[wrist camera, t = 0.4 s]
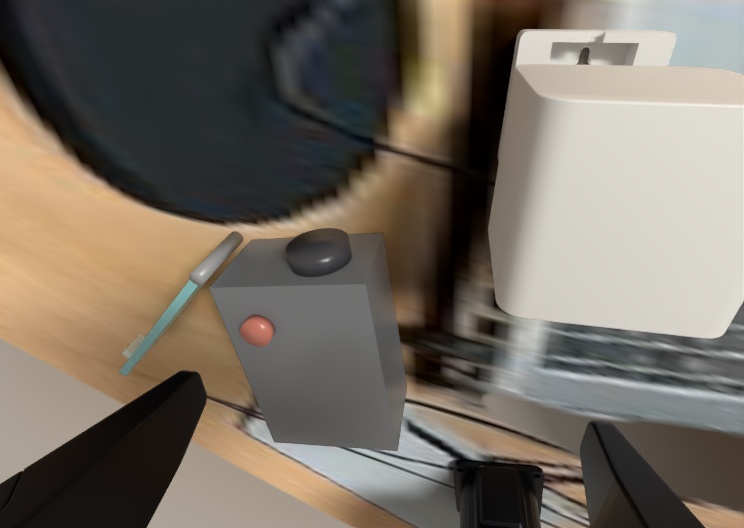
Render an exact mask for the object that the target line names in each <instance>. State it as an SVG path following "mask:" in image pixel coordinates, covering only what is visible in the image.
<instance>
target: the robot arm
mask: <svg viewBox="0 0 744 528" xmlns="http://www.w3.org/2000/svg"><path fill="white" fill-rule="evenodd" d="M206 400H207V394H206V391H205V388H204V385H203V382H202V379H201V376H200V374H199V373H198V372H195V371H187V370H182V371H180V372H178V373H176V374H174V375H173V376H171V377H170V378H168V379H167V380H165V381H163V382H162V383H160V384H159V385H157V386H155V387H154V388H152V389H151V390H149V391H147V392H146V393H144V394H143V395H141V396H139V397H138V398H136V399H135V400H133V401H132V402H130V403H128V404H127V405H125V406H124V407H122V408H120V409H119V410H117V411H116V412H114V413H112V414H111V415H110V416H108V417H106V418H105V419H103V420H101V421H100V422H98V423H97V424H95V425H93V426H92V427H90V428H89V429H87V430H86V431H84V432H82V433H81V434H79V435H78V436H76V437H74V438H73V439H71V440H70V441H68V442H66V443H65V444H63V445H62V446H60V447H59V448H57V449H55V450H54V451H52V452H50V453H49V454H47V455H46V456H44V457H43V458H41V459H39V460H38V461H36V462H35V463H33V464H31V465H30V466H28V467H27V468H25V470H24V471H21V472H19V473H17V474H15V475H14V476H12V477H11V478H9V479H7V480H6V481H5V482H3V483H1V484H0V528H147V526H148V524H149V522H150V520H151V518H152V516H153V515H154V513H155V511H156V509H157V507H158V505H159V503H160V501H161V500H162V498H163V496H164V494H165V492H166V490H167V488H168V487H169V485H170V483H171V481H172V479H173V477H174V475H175V473H176V471H177V469H178V467H179V465H180V464H181V461H182V459H183V457H184V455H185V453H186V450H187V448H188V445H189V443H190V441H191V438H192V436H193V433H194V431H195V429H196V426H197V424H198V421H199V419H200V416H201V414H202V412H203V409H204V407H205V404H206ZM580 457H581V465H582V472H583V479H584V486H585V494H586V501H587V508H588V515H589V522H590V528H705V527H704V526H703V525H702V523H701V522H700V521H699V520H698V519H697V518H696V517H695V516H694V514H693V513H692V512H691V511H690V510H689V509H688V508H687V507H686V505H685V504H684V503H683V502H682V501H681V500H680V499H679V498H678V496H677V495H676V494H675V493H674V492H673V491H672V490H671V489H670V487H669V486H668V485H667V484H666V483H665V482H664V481H663V480H662V478H661V477H660V476H659V475H658V474H657V473H656V472H655V471H654V469H653V468H652V467H651V466H650V465H649V464H648V463H647V462H646V460H645V459H644V458H643V457H642V456H641V455H640V454H639V453H638V452H637V450H636V449H635V448H634V447H633V446H632V445H631V444H630V443H629V441H628V440H627V439H626V438H625V437H624V436H623V435H622V433H621V432H620V431H619V430H618V429H617V428H616V427H615V426H614V425H613V424H612V423H609V422H603V421H595V420H591V421H590V422H589V423H588V425H587V428H586V431H585V434H584V436H583V439H582V442H581V446H580ZM453 470H454V482H455V493H456V505H457V511H459V512H460V528H541V524H540V514H541V503H542V493H543V482H544V474H543V470H542V469H541V468H539V467H532V466H518V465H505V464H492V463H478V462H465V461H457V462H455V463H454V465H453Z"/></svg>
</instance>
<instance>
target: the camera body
mask: <svg viewBox="0 0 744 528" xmlns="http://www.w3.org/2000/svg"><path fill="white" fill-rule="evenodd" d="M209 289H210V291H211V294H212V296H213V298H214V301H215V303H216V305H217V308H218V310H219V313H220V315H221V317H222V320H223V322H224V324H225V327H226V329H227V332H228V334H229V336H230V339H231V341H232V343H233V346H234V348H235V350H236V353H237V355H238V358H239V360H240V362H241V365H242V367H243V369H244V372H245V374H246V376H247V379H248V381H249V384H250V386H251V388H252V391H253V393H254V395H255V398H256V400H257V403H258V405H259V407H260V410H261V412H262V414H263V417H264V419H265V421H266V424H267V426H268V429H269V431H270V433H271V436H272V438H273V440H274V442H279V443H293V444H307V445H321V446H335V447H349V448H363V449H377V450H391V451H398V445H399V438H400V431H401V424H402V417H403V410H404V404H405V397H406V390H407V383H406V377H405V370H404V364H403V357H402V351H401V344H400V338H399V332H398V325H397V319H396V312H395V306H394V299H393V293H392V286H391V280H390V273H389V267H388V261H387V254H386V248H385V241H384V235H383V233H371V234H352V235H348V234H347V233H346V232H344V231H342V230H339V229H333V228H325V229H317V230H313V231H309V232H306V233H303V234H301V235H299V236H297V237H295V238H277V239H258V240H251V241H250V242H249V243H248V245H247V246H246V247H245V248H244V249H243V250H242V251H241V252H240V254H239V255H238V256H237V257H236V258H235V259H234V260H233V261H232V263H231V264H230V265H229V266H228V267H227V268H226V269H225V270H224V272H223V273H222V274H221V275H220V276H219V277H218V278H217V279H216V281H215V282H214V283H213V284H212V285H211V286H210V287H209Z"/></svg>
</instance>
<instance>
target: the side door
mask: <svg viewBox="0 0 744 528" xmlns="http://www.w3.org/2000/svg"><path fill="white" fill-rule="evenodd" d="M242 241H243V237H242V235H241V234H240V233H238V232H232V233H231V234H230V235H229V236H228V237H227V238H226V239H225V240H224V241H223V242H222V243H221V244H220V245H219V246H218V247H217V248H216V249H215V250H214V251H213V252H212V253H211V254H210V255H209V256H208V257H207V258H206V259H205V260H204V261H203V262H202V263H201V264H200V265H199V266H198V267H197V268H196V269H195V270H194V271H193V272H192V273H191V274H190V280H189V282H188V283H187V284H186V285H185V287H184V288H183V289H182V291H181V292H180V293H179V295H178V296H177V297H176V298H175V300H174V301H173V302H172V304H171V305H170V306H169V308H168V309H167V310H166V311H165V313H164V314H163V315H162V317H161V318H160V319H159V320H158V322H157V323H156V324H155V326H154V327H153V328H152V330H151V331H150V332H149V333H148V335H147V336H146V337H145V336H144V335H142V334H141V333H140V334H139V336H138V337H137V338H136V339H135V340H134V341H133V342H132V343H131V344H130V345H129V346H128V347H127V348H126V349H125V350H124V351H123V353H122V355H124V356H125V357H127V358H128V361H127V362H126V363H125V365H124V366H123V367H122V368H121V370H120V371H119V373H121V374H122V375H124V376H126V375H127V374H128V373H129V372H130V371H131V370H132V369H133V368H134V367H135V365H136V364H137V363H138V362H139V361H140V360H141V359H142V358H143V357H144V356H145V354H146V353H147V352H148V351H149V350H150V349H151V348H152V347H153V346H154V344H155V343H156V342H157V341H158V340H159V339H160V338H161V337H162V336H163V334H164V333H165V332H166V331H167V330H168V328H169V327H170V326H171V325H172V323H173V322H174V321H175V320H176V319H177V317H178V316H179V315H180V314H181V312H182V311H183V310H184V309H185V307H186V306H187V305H188V304H189V302H190V301H191V300H192V299H193V298H194V296H195V295H196V294H197V293H198V291H199V290H200V289H201V288H202V286H203V285H204V284H205V283H206V281H207V280H208V279H209V278H210V277H211V275H212V274H213V273H214V272H215V271H216V270H217V269H218V268H219V266H220V265H221V264H222V263H223V262H224V261H225V260H226V259H227V258H228V257H229V256H230V254H231V253H232V252H233V251H234V250H235V249H236V248H237V247H238V246H239V245H240V244H241V243H242Z"/></svg>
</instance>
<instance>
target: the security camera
mask: <svg viewBox="0 0 744 528" xmlns="http://www.w3.org/2000/svg"><path fill="white" fill-rule="evenodd" d="M676 39H677V38H676V35H675V34H674V33H673V32H666V31H660V30H565V29H524V30H521V31H520V32H519V33H518V35H517V38H516V44H515V50H514V56H513V63H512V69H511V75H510V81H509V88H508V94H507V100H506V106H505V113H504V119H503V125H502V131H501V138H500V144H499V150H498V161H499V164H498V171H497V177H496V183H495V189H494V195H493V201H492V207H491V214H490V220H489V226H488V235H489V244H490V253H491V262H492V271H493V280H494V289H495V298H496V302H497V304H498V306H499V307H500V308H501V309H502V310H504V311H505V312H507V313H508V314H510V315H513V316H515V317H520V318H524V319H533V320H542V321H551V322H561V323H570V324H579V325H588V326H597V327H606V328H615V329H624V330H633V331H642V332H652V333H661V334H670V335H679V336H688V337H697V338H717V337H720V336H722V335H723V334H724V333H725V332H726V330H727V328H728V326H729V325H730V323H731V321H732V320H733V318H734V316H735V315H736V313H737V311H738V309H739V308H740V306H741V304H742V303H743V301H744V75H743V74H739V73H735V72H731V71H727V70H722V69H715V68H704V67H672V66H668V64H669V61H670V58H671V55H672V52H673V49H674V46H675V43H676ZM586 47H588V48H589V55H588V60H587V62H588V63H589V65H576V64H577V63H578V61H579V57H580V53H581V50H582V49H583V48H586Z"/></svg>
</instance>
